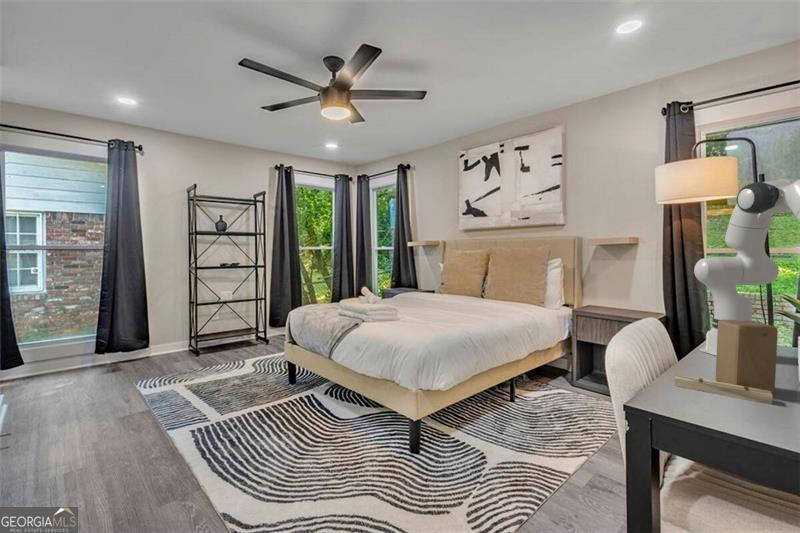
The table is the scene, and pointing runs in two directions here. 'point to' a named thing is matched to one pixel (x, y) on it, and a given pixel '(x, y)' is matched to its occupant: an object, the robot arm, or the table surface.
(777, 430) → the table surface
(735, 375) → the wooden block
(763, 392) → the maple board
